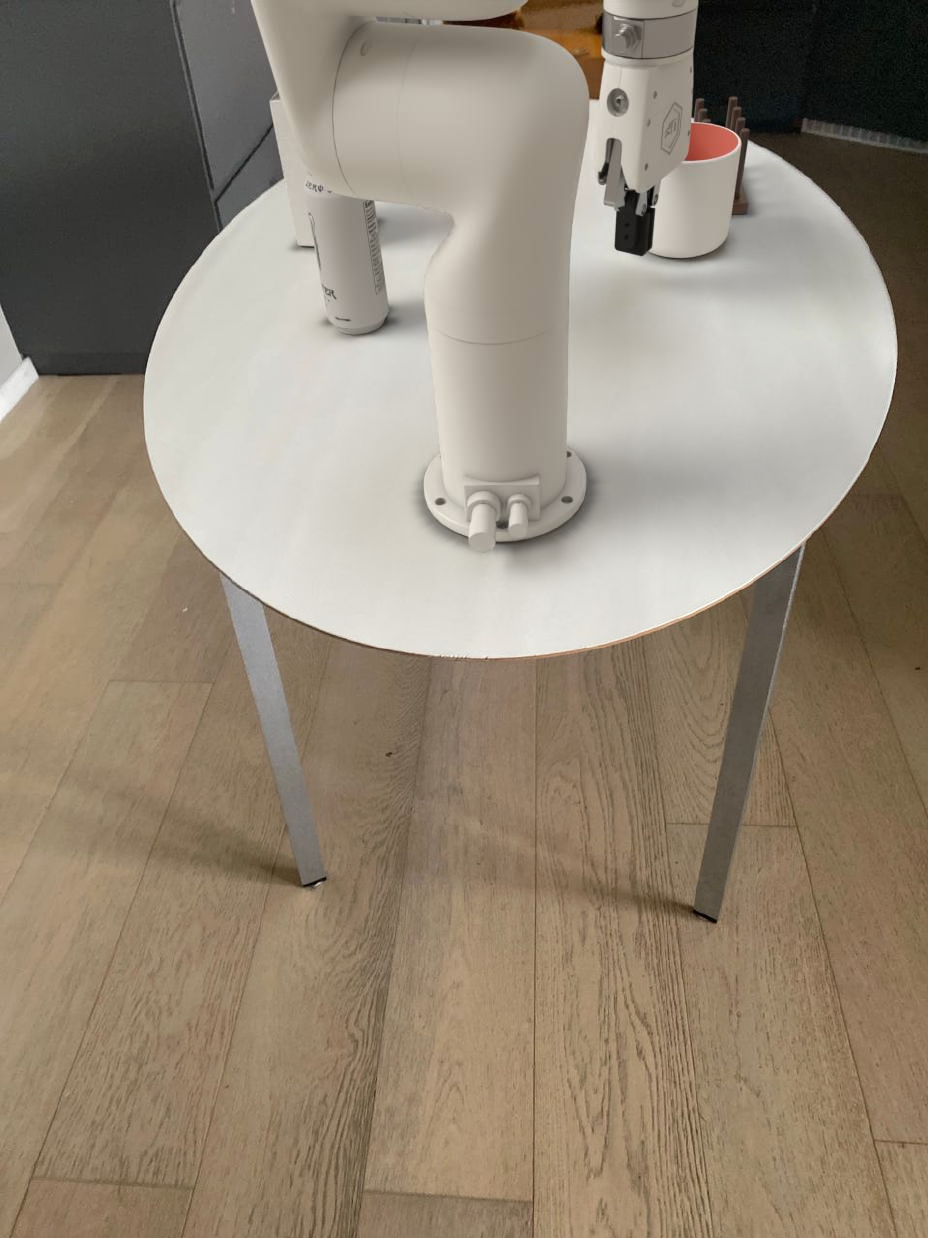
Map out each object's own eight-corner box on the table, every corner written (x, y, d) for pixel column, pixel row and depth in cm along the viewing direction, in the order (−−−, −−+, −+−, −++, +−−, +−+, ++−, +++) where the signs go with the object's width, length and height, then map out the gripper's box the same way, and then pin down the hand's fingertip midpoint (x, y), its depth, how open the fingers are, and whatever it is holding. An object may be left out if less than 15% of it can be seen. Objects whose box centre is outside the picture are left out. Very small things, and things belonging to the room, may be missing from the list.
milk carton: (377, 220, 108) (352, 31, 94) (358, 250, 103) (329, 56, 90) (318, 218, 109) (285, 31, 96) (297, 247, 105) (259, 55, 91)
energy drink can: (329, 309, 95) (300, 154, 84) (388, 302, 95) (367, 146, 84) (329, 340, 91) (298, 182, 80) (391, 333, 91) (369, 174, 80)
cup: (617, 254, 99) (623, 155, 92) (647, 213, 105) (655, 117, 97) (712, 269, 95) (726, 167, 88) (738, 226, 101) (753, 127, 94)
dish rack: (747, 213, 103) (759, 134, 97) (690, 215, 104) (699, 137, 98) (732, 168, 111) (742, 92, 105) (680, 170, 112) (687, 94, 106)
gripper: (648, 65, 72) (631, 292, 85) (729, 11, 80) (702, 226, 93) (561, 53, 75) (559, 274, 88) (648, 2, 83) (634, 211, 96)
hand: (633, 249), depth 91 cm, fingers closed
